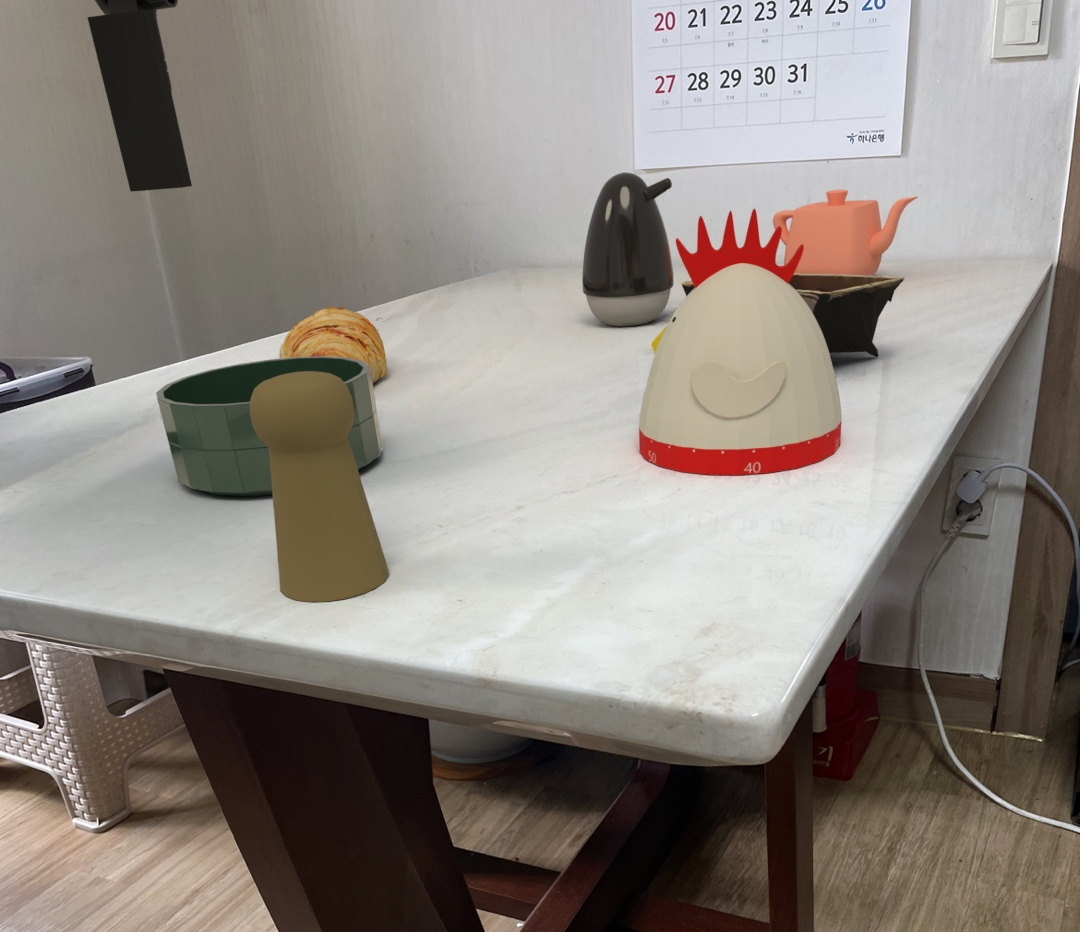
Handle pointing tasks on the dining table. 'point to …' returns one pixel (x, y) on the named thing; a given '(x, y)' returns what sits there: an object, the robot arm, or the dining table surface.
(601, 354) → the dining table surface
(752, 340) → the kitchen timer
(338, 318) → the croissant
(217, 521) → the dining table surface
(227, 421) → the green tiled bowl
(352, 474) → the cork
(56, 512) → the dining table surface
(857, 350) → the baking dish
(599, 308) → the pump dispenser
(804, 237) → the teapot
